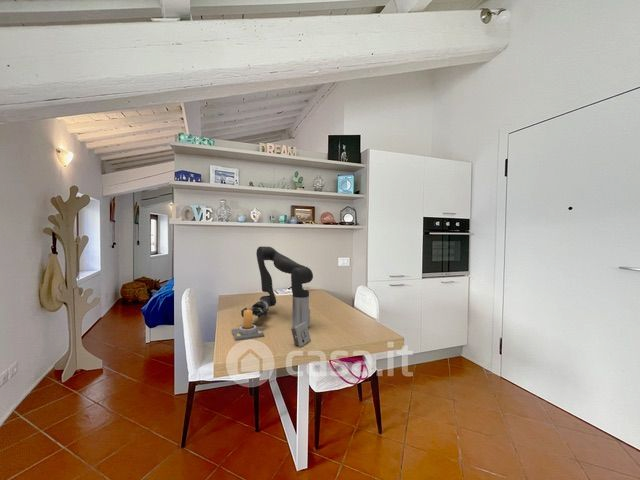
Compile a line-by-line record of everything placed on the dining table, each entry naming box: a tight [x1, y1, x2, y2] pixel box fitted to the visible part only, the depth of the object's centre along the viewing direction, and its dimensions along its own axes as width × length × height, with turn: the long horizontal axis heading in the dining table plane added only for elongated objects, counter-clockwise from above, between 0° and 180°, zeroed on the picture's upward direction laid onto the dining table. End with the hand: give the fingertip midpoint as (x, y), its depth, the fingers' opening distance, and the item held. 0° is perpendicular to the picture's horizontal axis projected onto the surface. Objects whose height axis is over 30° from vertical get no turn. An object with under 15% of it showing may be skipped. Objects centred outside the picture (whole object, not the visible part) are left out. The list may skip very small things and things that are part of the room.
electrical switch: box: [291, 322, 312, 348], centre depth 130 cm, size 9×5×9 cm, turn 152°
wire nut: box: [242, 310, 253, 329], centre depth 140 cm, size 4×4×11 cm
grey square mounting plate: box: [231, 324, 265, 342], centre depth 140 cm, size 14×14×4 cm
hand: (250, 315), depth 145 cm, fingers open, 8 cm apart
